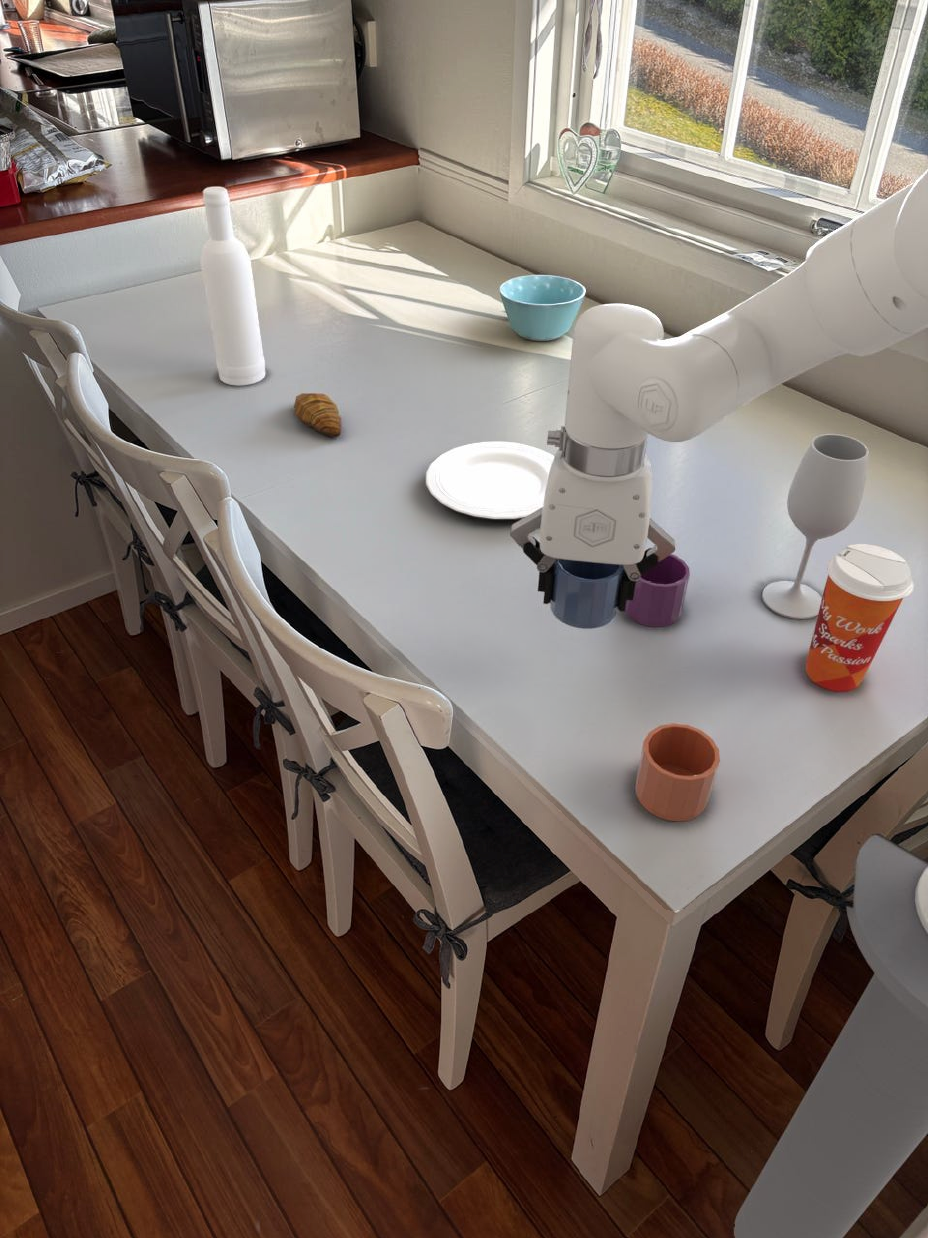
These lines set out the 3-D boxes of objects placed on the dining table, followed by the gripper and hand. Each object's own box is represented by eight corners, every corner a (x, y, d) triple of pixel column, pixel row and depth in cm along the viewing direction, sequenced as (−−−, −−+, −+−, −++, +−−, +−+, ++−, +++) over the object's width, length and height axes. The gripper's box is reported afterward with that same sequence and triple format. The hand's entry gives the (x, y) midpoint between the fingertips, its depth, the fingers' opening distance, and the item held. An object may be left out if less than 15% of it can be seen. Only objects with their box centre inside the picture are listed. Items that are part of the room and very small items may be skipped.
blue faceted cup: (630, 612, 95) (638, 565, 91) (581, 637, 92) (587, 590, 88) (585, 579, 100) (590, 533, 96) (536, 602, 96) (540, 556, 92)
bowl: (480, 330, 174) (481, 286, 169) (538, 309, 182) (540, 267, 177) (540, 356, 165) (544, 311, 160) (598, 333, 174) (603, 289, 168)
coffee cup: (781, 674, 102) (816, 564, 92) (815, 638, 107) (852, 531, 97) (853, 711, 98) (898, 601, 88) (885, 673, 102) (931, 564, 93)
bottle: (272, 368, 160) (249, 183, 141) (257, 388, 154) (230, 198, 135) (228, 364, 161) (199, 180, 142) (211, 383, 155) (178, 194, 136)
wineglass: (822, 626, 108) (876, 470, 95) (756, 611, 110) (799, 456, 97) (827, 589, 114) (878, 437, 100) (764, 575, 116) (806, 424, 102)
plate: (552, 447, 140) (552, 435, 139) (589, 522, 125) (590, 510, 123) (416, 457, 137) (416, 445, 136) (437, 535, 122) (436, 523, 120)
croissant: (280, 410, 148) (276, 381, 145) (318, 400, 151) (315, 372, 148) (316, 446, 140) (313, 416, 136) (356, 435, 142) (354, 405, 139)
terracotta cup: (722, 798, 88) (735, 756, 84) (672, 833, 85) (683, 791, 81) (669, 755, 93) (679, 713, 89) (620, 786, 89) (628, 744, 85)
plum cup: (693, 612, 110) (702, 572, 106) (652, 634, 107) (660, 594, 103) (651, 583, 114) (658, 544, 110) (611, 604, 111) (617, 564, 107)
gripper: (504, 459, 82) (496, 613, 93) (703, 476, 80) (670, 631, 91) (512, 419, 87) (504, 569, 99) (698, 434, 86) (668, 585, 97)
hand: (584, 598), depth 95 cm, fingers closed on blue faceted cup, 7 cm apart
